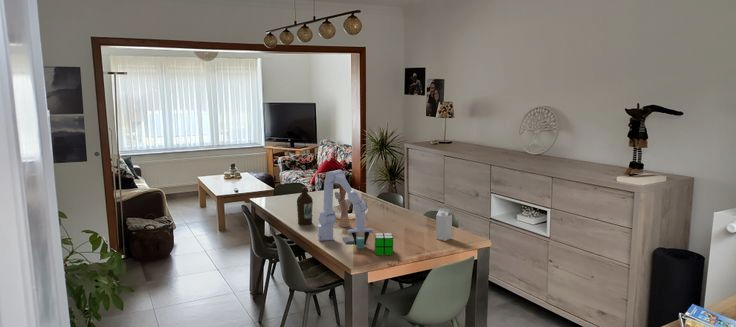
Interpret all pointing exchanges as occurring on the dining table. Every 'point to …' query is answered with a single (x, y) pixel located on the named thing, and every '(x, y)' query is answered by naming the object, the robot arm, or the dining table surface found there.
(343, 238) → the gray block
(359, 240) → the teal block
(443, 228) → the milk carton
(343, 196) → the brown statue
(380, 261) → the dining table surface
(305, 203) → the olive oil
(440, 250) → the dining table surface
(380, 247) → the puzzle cube
